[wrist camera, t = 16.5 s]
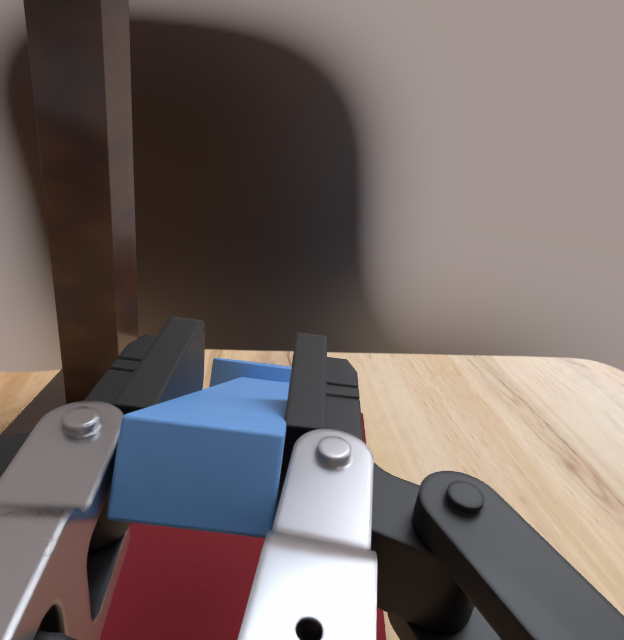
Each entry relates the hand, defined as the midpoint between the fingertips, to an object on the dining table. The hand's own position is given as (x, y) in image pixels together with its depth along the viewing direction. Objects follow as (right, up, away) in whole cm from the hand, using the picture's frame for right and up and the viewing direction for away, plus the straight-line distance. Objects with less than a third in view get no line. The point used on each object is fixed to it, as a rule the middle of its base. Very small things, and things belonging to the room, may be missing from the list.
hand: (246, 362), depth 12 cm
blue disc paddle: (0, -3, +5) cm, 5 cm away
